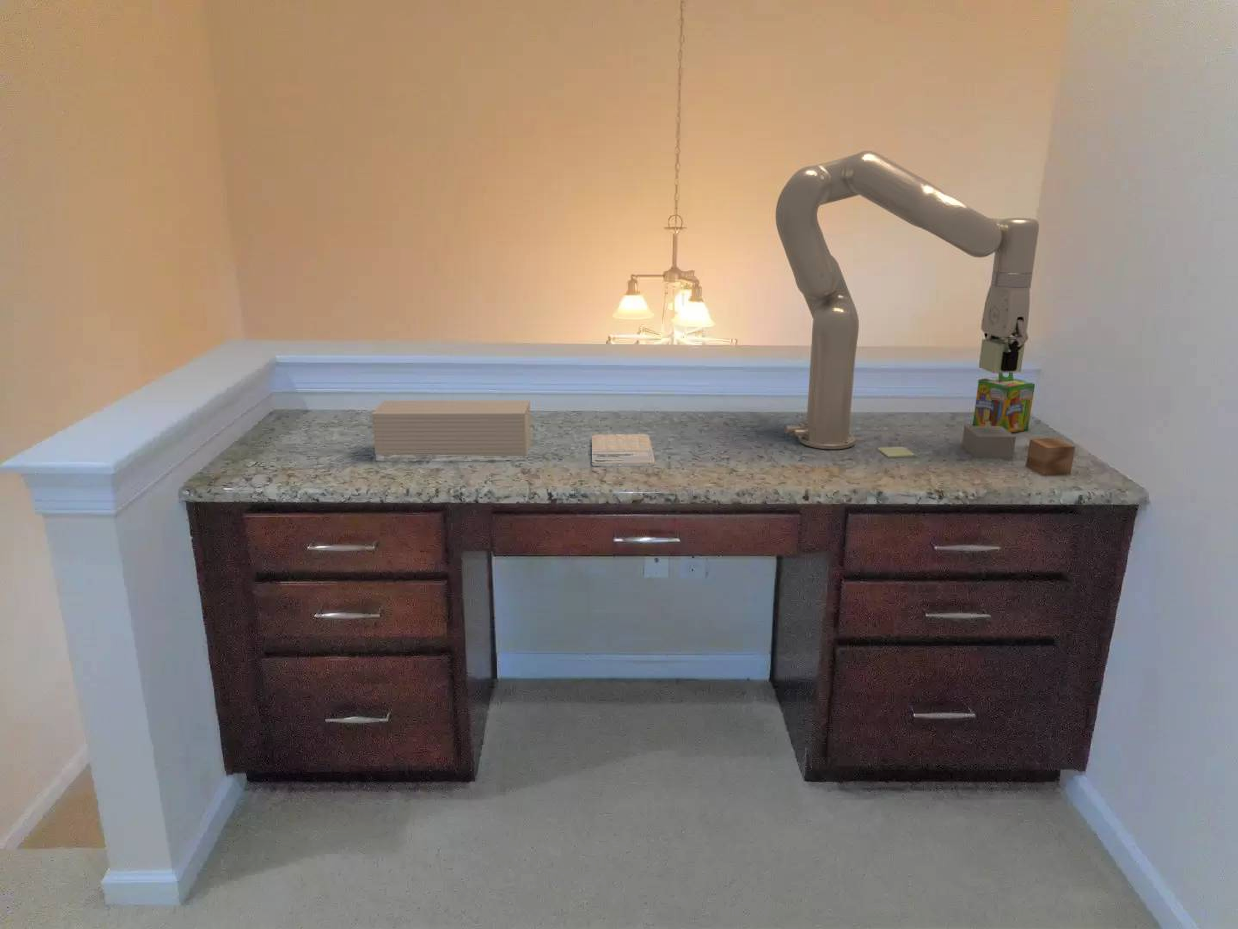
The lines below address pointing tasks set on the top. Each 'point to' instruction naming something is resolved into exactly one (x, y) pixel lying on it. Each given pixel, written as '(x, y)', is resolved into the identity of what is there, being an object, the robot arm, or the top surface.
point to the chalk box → (1004, 403)
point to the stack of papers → (452, 428)
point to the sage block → (996, 355)
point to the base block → (988, 442)
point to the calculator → (623, 448)
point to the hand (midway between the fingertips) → (999, 366)
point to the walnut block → (1050, 456)
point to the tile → (895, 452)
